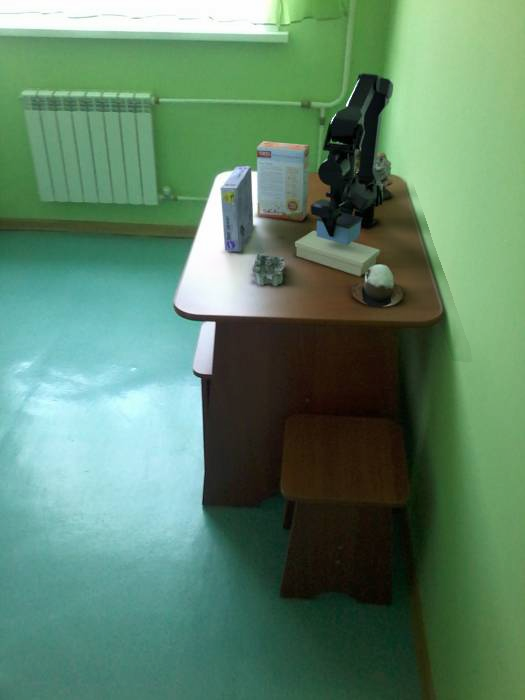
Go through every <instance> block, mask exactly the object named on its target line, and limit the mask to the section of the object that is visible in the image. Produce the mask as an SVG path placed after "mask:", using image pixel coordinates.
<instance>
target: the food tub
mask: <svg viewBox="0 0 525 700" xmlns="http://www.w3.org/2000/svg"><path fill="white" fill-rule="evenodd" d="M339 213H341V214H342V215H341V216H340V217H339V218H337V222H336V228H335V233H334V236H333V237H330V236H329V235H328V232H327V230H326V228H325V226H324V223H323V221H322V219H321V218H320V217H319V216H316V219H315V220H316V231H317V235H316V236H318V237H321V238H324V239H328V240H331V241H334V242H338V243H341V244H344V245H348V244H350V243H351V242H354V241H356V240H357V239H359V238H360V235H361V227H362V226H361V221H362V218H361V217H358V216H354V214H352V215H350V214H347V213H343V212H339Z"/></svg>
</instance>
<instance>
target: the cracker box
mask: <svg viewBox="0 0 525 700" xmlns="http://www.w3.org/2000/svg"><path fill="white" fill-rule="evenodd" d="M309 169H310V145H309V144H299V143H298V144H297V143H288V142H287V143H286V142H276V141H265V140H263V141H262V142H261V143H259V145H258V146H256V183H257V185H256V186H257V188H256V189H257V194H256V195H257V197H256V199H257V201H256V202H257V216H258V217H263V218H264V217H265V218H273V219H281V220H289V221H297V222H303V221H304V220H305V218H306V216H307V215H308V200H309V199H308V198H309V173H310V171H309Z"/></svg>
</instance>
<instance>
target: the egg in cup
mask: <svg viewBox="0 0 525 700" xmlns="http://www.w3.org/2000/svg"><path fill="white" fill-rule="evenodd" d="M351 294H352V296H353V297H354V299H356V300H357V301H358V302H360V303H362V304H365V305H367V306H370V307H377V308H381V307H390V306H394V305H396V304H398V303H400V301H402V299H403V296H404V291H403V290H402V288H401V287H400V285H398V284H396V283H395V280H394V275H393V273H392V271H391V269H390V267H388V265H386V264H380V263H378V264H376V265H374V266H372V267H370V268H369V269H368V271H367V272H365V273H364V278H363V279H361V280H359V281H357V282H355V283H354V284H353V285H352V287H351Z"/></svg>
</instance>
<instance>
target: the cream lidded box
mask: <svg viewBox="0 0 525 700" xmlns="http://www.w3.org/2000/svg"><path fill="white" fill-rule="evenodd" d="M316 235H317V230H312V231H310V232H309V233H307V234H306V235H304V236H302V237H301V238H299V239H297V240H296V241H294V247H296V254H295V255H296V257H298V258H302V259H305V260H307V261H310V262H314V263H317V264H319V265H324V266H326V267H329V268H333V269H336V270H339V271H342V272H345V273H348V274H351V275H354V276H357V277H362V276H363V275H365V273H366V272H368V269H369V268H370V267H372V266H374V265H377V257H378V256H380V254H381V249H378V248H375V247H371V246H368V245H366V244H361V243H359V242H354V241H352V242H351V243H350V244H348V245H344V244H341V243H338V242H334V241H331V240H328V239H324V238H321V237H318V236H316Z"/></svg>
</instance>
